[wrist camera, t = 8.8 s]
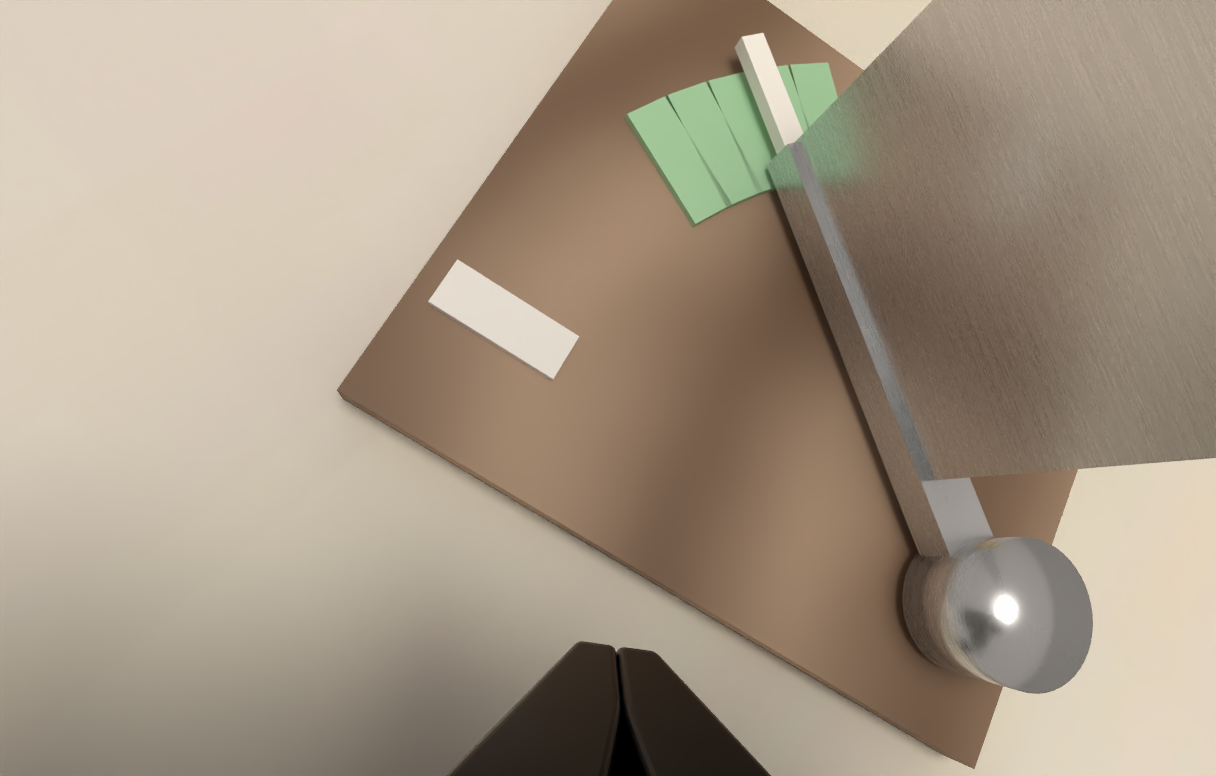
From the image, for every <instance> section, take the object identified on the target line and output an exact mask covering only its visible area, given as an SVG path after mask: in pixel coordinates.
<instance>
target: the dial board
mask: <svg viewBox="0 0 1216 776" xmlns="http://www.w3.org/2000/svg"><path fill="white" fill-rule="evenodd" d="M759 33H764V36H765V38H766V41H767V43H768V46H769V48H770V51H771V53H772V56H773V58H774V61H775V63H776V66H777V68H778V71H779V73H780V76H781V78H782V81H783V83H784V86H785V88H786V91H787V93H788V96H789V98H790V101H791V103H792V106H793V108H794V111H795V113H796V116H797V118H798V121H799V123H800V126H801V129H802V131H803V133H804V132H805V131H806V130H807V129H808V128H809V127H810V126H811V125H812V124H813V123H814V122H815V121H816V120H817V119H818V118H819V117H820V116H821V115H822V114H823V113H824V112H825V111H826V110H827V108H828V107H829V106H830V105H831V104H832V103H833V102H834V101H835V100H836V99H837V98H838V97H839V96H840V95H841V94H842V93H843V92H844V91H845V90H846V89H847V88H848V87H849V86H850V85H851V84H852V83H853V82H854V81H855V80H856V79H857V78H858V77H859V76H860V75H861V74H862V73H863V71H864V70H862V69H861V68H860V67H858V66H857V65H856V64H854V63H853V62H851V61H850V60H849V59H847V58H846V57H844V56H843V55H842V54H840V53H839V52H838V51H836V50H835V49H833V48H832V47H831V46H829V45H828V44H827V43H825V42H824V41H822V40H821V39H820V38H818V37H817V36H815V35H814V34H813V33H811V32H810V31H809V30H807V29H806V28H804V27H803V26H802V25H800V24H799V23H798V22H796V21H795V20H793V19H792V18H791V17H789V16H788V15H787V14H785V13H784V12H782V11H781V10H780V9H778V8H777V7H775V6H774V5H773V4H771V3H770V2H769V1H767V0H613V1H612V2H611V3H610V5H609V6H608V8H607V9H606V10H605V12H604V13H603V15H602V16H601V18H600V19H599V20H598V22H597V23H596V25H595V26H594V27H593V29H592V30H591V32H590V33H589V35H588V36H587V37H586V39H585V40H584V42H583V43H582V44H581V46H580V47H579V49H578V50H577V51H576V53H575V54H574V56H573V57H572V59H571V60H570V61H569V63H568V64H567V66H566V67H565V68H564V70H563V71H562V73H561V74H560V76H559V77H558V78H557V80H556V81H555V83H554V84H553V85H552V87H551V88H550V90H549V91H548V92H547V94H546V95H545V97H544V98H543V100H542V101H541V102H540V104H539V105H538V107H537V108H536V109H535V111H534V112H533V114H532V115H531V117H530V118H529V119H528V121H527V122H526V124H525V125H524V126H523V128H522V129H521V131H520V132H519V133H518V135H517V136H516V138H515V139H514V141H513V142H512V143H511V145H510V146H509V148H508V149H507V150H506V152H505V153H504V155H503V156H502V158H501V159H500V160H499V162H498V163H497V165H496V166H495V167H494V169H493V170H492V172H491V173H490V174H489V176H488V177H487V179H486V180H485V182H484V183H483V184H482V186H481V187H480V189H479V190H478V191H477V193H476V194H475V196H474V197H473V199H472V200H471V201H470V203H469V204H468V206H467V207H466V208H465V210H464V211H463V213H462V214H461V215H460V217H459V218H458V220H457V221H456V223H455V224H454V225H453V227H452V228H451V230H450V231H449V232H448V234H447V235H446V237H445V238H444V240H443V241H442V242H441V244H440V245H439V247H438V248H437V249H436V251H435V252H434V254H433V255H432V256H431V258H430V259H429V261H428V262H427V264H426V265H425V266H424V268H423V269H422V271H421V272H420V273H419V275H418V276H417V278H416V279H415V281H414V282H413V283H412V285H411V286H410V288H409V289H408V290H407V292H406V293H405V295H404V296H403V297H402V299H401V300H400V302H399V303H398V305H397V306H396V307H395V309H394V310H393V312H392V313H391V314H390V316H389V317H388V319H387V320H386V322H385V323H384V324H383V326H382V327H381V329H380V330H379V331H378V333H377V334H376V336H375V337H374V338H373V340H372V341H371V343H370V344H369V346H368V347H367V348H366V350H365V351H364V353H363V354H362V355H361V357H360V358H359V360H358V361H357V363H356V364H355V365H354V367H353V368H352V370H351V371H350V372H349V374H348V375H347V377H346V378H345V379H344V381H343V382H342V384H341V385H340V387H339V388H338V389H337V391H338V392H339V394H340V395H341V397H342V398H343V399H345V400H346V401H348V402H350V403H351V404H353V405H355V406H356V407H358V408H360V409H361V410H363V411H365V412H366V413H368V414H370V415H372V416H373V417H375V418H377V419H378V420H380V421H382V422H383V423H385V424H387V425H388V426H390V427H392V428H393V429H395V430H397V431H398V432H400V433H402V434H404V435H405V436H407V437H409V438H410V439H412V440H414V441H415V442H417V443H419V444H420V445H422V446H424V447H425V448H427V449H429V450H430V451H432V452H434V453H436V454H437V455H439V456H441V457H442V458H444V459H446V460H447V461H449V462H451V463H452V464H454V465H456V466H457V467H459V468H461V469H462V470H464V471H466V472H468V473H469V474H471V475H473V476H474V477H476V478H478V479H479V480H481V481H483V482H484V483H486V484H488V485H489V486H491V487H493V488H494V489H496V490H498V491H500V492H501V493H503V494H505V495H506V496H508V497H510V498H511V499H513V500H515V501H516V502H518V503H520V504H521V505H523V506H525V507H526V508H528V509H530V510H532V511H533V512H535V513H537V514H538V515H540V516H542V517H543V518H545V519H547V520H548V521H550V522H552V523H553V524H555V525H557V526H558V527H560V528H562V529H564V530H565V531H567V532H569V533H570V534H572V535H574V536H575V537H577V538H579V539H580V540H582V541H584V542H585V543H587V544H589V545H590V546H592V547H594V548H596V549H597V550H599V551H601V552H602V553H604V554H606V555H607V556H609V557H611V558H612V559H614V560H616V561H617V562H619V563H621V564H622V565H624V566H626V567H628V568H629V569H631V570H633V571H634V572H636V573H638V574H639V575H641V576H643V577H644V578H646V579H648V580H649V581H651V582H653V583H654V584H656V585H658V586H660V587H661V588H663V589H665V590H666V591H668V592H670V593H671V594H673V595H675V596H676V597H678V598H680V599H681V600H683V601H685V602H687V603H688V604H690V605H692V606H693V607H695V608H697V609H698V610H700V611H702V612H703V613H705V614H707V615H708V616H710V617H712V618H713V619H715V620H717V621H719V622H720V623H722V624H724V625H725V626H727V627H729V628H730V629H732V630H734V631H735V632H737V633H739V634H740V635H742V636H744V637H745V638H747V639H749V640H751V641H752V642H754V643H756V644H757V645H759V646H761V647H762V648H764V649H766V650H767V651H769V652H771V653H772V654H774V655H776V656H777V657H779V658H781V659H783V660H784V661H786V662H788V663H789V664H791V665H793V666H794V667H796V668H798V669H799V670H801V671H803V672H804V673H806V674H808V675H809V676H811V677H813V678H815V679H816V680H818V681H820V682H821V683H823V684H825V685H826V686H828V687H830V688H831V689H833V690H835V691H836V692H838V693H840V694H841V695H843V696H845V697H847V698H848V699H850V700H852V701H853V702H855V703H857V704H858V705H860V706H862V707H863V708H865V709H867V710H868V711H870V712H872V713H873V714H875V715H877V716H879V717H880V718H882V719H884V720H885V721H887V722H889V723H890V724H892V725H894V726H895V727H897V728H899V729H900V730H902V731H904V732H905V733H907V734H909V735H911V736H912V737H914V738H916V739H917V740H919V741H921V742H922V743H924V744H926V745H927V746H929V747H931V748H932V749H934V750H936V751H937V752H939V753H941V754H943V755H945V756H947V757H949V758H951V759H953V760H956V761H958V762H960V763H962V764H964V765H967V766H969V767H971V768H973V769H975V766H976V763H977V760H978V757H979V754H980V751H981V748H982V745H983V743H984V740H985V737H986V734H987V731H988V728H989V725H990V722H991V719H992V716H993V714H994V711H995V708H996V705H997V702H998V699H999V696H1000V693H1001V690H1002V687H1003V686H1001V685H997V684H994V683H990V682H987V681H983V680H980V679H976V678H973V677H969V676H966V675H963V674H959V673H956V672H952V671H949V670H946V669H944V668H941V667H939V666H938V665H936V664H934V663H933V662H932V661H930V660H929V659H928V658H927V657H926V656H925V655H924V654H923V653H922V652H921V651H920V649H919V648H918V647H917V646H916V644H915V642H914V641H913V639H912V637H911V635H910V633H909V631H908V628H907V625H906V622H905V618H904V613H903V605H902V592H903V584H904V580H905V576H906V573H907V570H908V568H909V566H910V564H911V562H912V560H913V559H914V557H915V556H916V555H917V553H918V550H917V547H916V545H915V542H914V540H913V537H912V535H911V532H910V530H909V527H908V524H907V522H906V519H905V517H904V514H903V512H902V509H901V507H900V504H899V502H898V499H897V496H896V494H895V491H894V489H893V486H892V484H891V481H890V479H889V476H888V473H887V471H886V468H885V466H884V463H883V461H882V458H881V456H880V453H879V451H878V448H877V445H876V443H875V440H874V438H873V435H872V433H871V430H870V428H869V425H868V422H867V420H866V417H865V415H864V412H863V410H862V407H861V405H860V402H859V400H858V397H857V394H856V392H855V389H854V387H853V384H852V382H851V379H850V377H849V374H848V371H847V369H846V366H845V364H844V361H843V359H842V356H841V354H840V351H839V349H838V346H837V343H836V341H835V338H834V336H833V333H832V331H831V328H830V326H829V323H828V321H827V318H826V315H825V313H824V310H823V308H822V305H821V303H820V300H819V298H818V295H817V292H816V290H815V287H814V285H813V282H812V280H811V277H810V275H809V272H808V270H807V267H806V264H805V262H804V259H803V257H802V254H801V252H800V249H799V247H798V244H797V241H796V239H795V236H794V234H793V231H792V229H791V226H790V224H789V221H788V219H787V216H786V213H785V211H784V208H783V206H782V203H781V201H780V198H779V196H778V193H777V190H776V188H775V185H774V183H773V180H772V178H771V175H770V173H769V170H768V168H767V165H768V164H769V163H770V161H771V160H772V159H773V158H774V157H775V156H776V155H777V154H776V151H775V149H774V146H773V143H772V141H771V138H770V136H769V133H768V131H767V128H766V126H765V123H764V121H763V118H762V116H761V113H760V111H759V108H758V105H757V103H756V100H755V98H754V95H753V93H752V90H751V88H750V85H749V83H748V80H747V78H746V75H745V72H744V70H743V67H742V65H741V62H740V60H739V57H738V55H737V52H736V50H735V46H736V45H737V43H738V42H739V40H740V39H741V37H743V36H748V35H754V34H759ZM1077 470H1078V469H1071V470H1058V471H1045V472H1033V473H1020V474H1008V475H995V476H983V477H970V480H971V482H972V485H973V487H974V490H975V492H976V495H977V497H978V499H979V502H980V504H981V507H982V509H983V512H984V514H985V517H986V519H987V522H988V524H989V527H990V529H991V532H992V534H993V536H995V537H1027V538H1034V539H1038V540H1042V541H1044V542H1046V543H1048V544H1050V545H1052V543H1053V540H1054V537H1055V534H1056V531H1057V528H1058V525H1059V522H1060V519H1061V516H1062V514H1063V511H1064V508H1065V505H1066V502H1067V499H1068V496H1069V493H1070V490H1071V487H1072V485H1073V482H1074V479H1075V476H1076V473H1077Z"/></svg>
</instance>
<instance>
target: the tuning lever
mask: <svg viewBox="0 0 1216 776" xmlns="http://www.w3.org/2000/svg"><path fill="white" fill-rule="evenodd" d="M735 50H736V52H737V55H738V57H739V60H740V62H741V65H742V67H743V70H744V72H745V75H746V78H747V80H748V83H749V85H750V88H751V90H752V93H753V95H754V98H755V100H756V103H757V105H758V108H759V111H760V113H761V116H762V118H763V121H764V123H765V126H766V128H767V131H768V133H769V136H770V138H771V141H772V143H773V146H774V149H775V151H776V154H777V155H776V156H775V157H774V158H773V159H772V160H771V161H770V163H769V164H768V165H767V168H768V170H769V173H770V175H771V178H772V180H773V183H774V185H775V188H776V190H777V193H778V196H779V198H780V201H781V203H782V206H783V208H784V211H785V213H786V216H787V219H788V221H789V224H790V226H791V229H792V231H793V234H794V236H795V239H796V241H797V244H798V247H799V249H800V252H801V254H802V257H803V259H804V262H805V264H806V267H807V270H808V272H809V275H810V277H811V280H812V282H813V285H814V287H815V290H816V292H817V295H818V298H819V300H820V303H821V305H822V308H823V310H824V313H825V315H826V318H827V321H828V323H829V326H830V328H831V331H832V333H833V336H834V338H835V341H836V343H837V346H838V349H839V351H840V354H841V356H842V359H843V361H844V364H845V366H846V369H847V371H848V374H849V377H850V379H851V382H852V384H853V387H854V389H855V392H856V394H857V397H858V400H859V402H860V405H861V407H862V410H863V412H864V415H865V417H866V420H867V422H868V425H869V428H870V430H871V433H872V435H873V438H874V440H875V443H876V445H877V448H878V451H879V453H880V456H881V458H882V461H883V463H884V466H885V468H886V471H887V473H888V476H889V479H890V481H891V484H892V486H893V489H894V491H895V494H896V496H897V499H898V502H899V504H900V507H901V509H902V512H903V514H904V517H905V519H906V522H907V524H908V527H909V530H910V532H911V535H912V537H913V540H914V542H915V545H916V547H917V550H918V553H917V555H916V556H915V557H914V559H913V560H912V562H911V564H910V566H909V568H908V570H907V573H906V576H905V580H904V584H903V592H902V605H903V613H904V618H905V622H906V625H907V628H908V631H909V633H910V635H911V637H912V639H913V641H914V642H915V644H916V646H917V647H918V648H919V649H920V651H921V652H922V653H923V654H924V655H925V656H926V657H927V658H928V659H929V660H930V661H932V662H933V663H934V664H936V665H938V666H939V667H941V668H944V669H946V670H949V671H952V672H956V673H959V674H963V675H966V676H969V677H973V678H976V679H980V680H983V681H987V682H990V683H994V684H997V685H1001V686H1004V687H1008V688H1011V689H1015V690H1018V691H1022V692H1026V693H1035V694H1039V693H1047V692H1050V691H1054V690H1056V689H1058V688H1060V687H1062V686H1063V685H1065V684H1066V683H1068V682H1069V681H1070V680H1071V679H1072V678H1073V677H1074V676H1075V675H1076V673H1077V672H1078V671H1079V670H1080V668H1081V666H1082V664H1083V663H1084V661H1085V658H1086V656H1087V654H1088V651H1089V647H1090V644H1091V638H1092V628H1093V619H1092V609H1091V603H1090V599H1089V595H1088V592H1087V589H1086V586H1085V584H1084V582H1083V580H1082V578H1081V576H1080V574H1079V572H1078V571H1077V569H1076V568H1075V566H1074V565H1073V564H1072V562H1071V561H1070V560H1069V559H1068V558H1067V557H1066V556H1065V555H1064V554H1063V553H1062V552H1061V551H1059V550H1058V549H1057V548H1055V547H1054V546H1052V545H1050V544H1048V543H1046V542H1044V541H1042V540H1038V539H1034V538H1027V537H995V536H993V534H992V532H991V529H990V527H989V524H988V522H987V519H986V517H985V514H984V512H983V509H982V507H981V504H980V502H979V499H978V497H977V495H976V492H975V490H974V487H973V485H972V482H971V480H970V477H983V476H995V475H1008V474H1020V473H1033V472H1045V471H1058V470H1071V469H1083V468H1096V467H1108V466H1121V465H1134V464H1146V463H1159V462H1171V461H1184V460H1196V459H1209V458H1216V0H933V1H932V2H931V3H930V4H929V5H928V6H927V7H926V8H925V9H924V10H923V11H922V12H921V13H920V14H919V15H918V16H917V17H916V18H915V19H914V20H913V21H912V22H911V23H910V24H909V25H908V26H907V27H906V28H905V29H904V30H903V31H902V32H901V33H900V34H899V35H898V37H897V38H896V39H895V40H894V41H893V42H892V43H891V44H890V45H889V46H888V47H887V48H886V49H885V50H884V51H883V52H882V53H881V54H880V55H879V56H878V57H877V58H876V59H875V60H874V61H873V62H872V63H871V64H870V65H869V66H868V67H867V68H866V69H865V70H864V71H863V73H862V74H861V75H860V76H859V77H858V78H857V79H856V80H855V81H854V82H853V83H852V84H851V85H850V86H849V87H848V88H847V89H846V90H845V91H844V92H843V93H842V94H841V95H840V96H839V97H838V98H837V99H836V100H835V101H834V102H833V103H832V104H831V105H830V106H829V107H828V108H827V110H826V111H825V112H824V113H823V114H822V115H821V116H820V117H819V118H818V119H817V120H816V121H815V122H814V123H813V124H812V125H811V126H810V127H809V128H808V129H807V130H806V131H805V132H804V133H803V131H802V129H801V126H800V123H799V121H798V118H797V116H796V113H795V111H794V108H793V106H792V103H791V101H790V98H789V96H788V93H787V91H786V88H785V86H784V83H783V81H782V78H781V76H780V73H779V71H778V68H777V66H776V63H775V61H774V58H773V56H772V53H771V51H770V48H769V46H768V43H767V41H766V38H765V36H764V33H759V34H754V35H748V36H743V37H741V39H740V40H739V42H738V43H737V45H736V46H735Z"/></svg>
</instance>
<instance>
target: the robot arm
mask: <svg viewBox="0 0 1216 776" xmlns="http://www.w3.org/2000/svg"><path fill="white" fill-rule="evenodd" d="M446 776H771V775H770V774H769V773H768V772H767V771H766V770H765V769H764V768H763V767H762V766H761V765H760V763H759V762H758V761H757V760H756V759H755V758H754V757H753V756H752V755H751V754H750V753H749V752H748V751H747V750H746V748H745V747H744V746H743V745H742V744H741V743H740V742H739V741H738V740H737V739H736V738H735V737H734V736H733V734H732V733H731V732H730V731H729V730H728V729H727V728H726V727H725V726H724V725H723V724H722V723H721V722H720V721H719V719H718V718H717V717H716V716H715V715H714V714H713V713H712V712H711V711H710V710H709V709H708V708H707V707H706V706H705V704H704V703H703V702H702V701H701V700H700V699H699V698H698V697H697V696H696V695H695V694H694V693H693V692H692V691H691V689H690V688H689V687H688V686H687V685H686V684H685V683H684V682H683V681H682V680H681V679H680V678H679V677H678V675H677V674H676V673H675V672H674V671H673V670H672V669H671V668H670V667H669V666H668V665H667V664H666V663H665V662H664V660H663V659H662V658H661V657H660V656H659V655H658V654H656V653H655V652H653V651H647V650H640V649H633V648H626V647H623V648H620V649H618V651H617V652H616V651H615V649H614V648H613V647H612V646H610V645H604V644H597V643H590V642H583V641H581V642H578V643H576V644H575V645H574V646H573V647H572V648H571V649H570V650H569V651H568V652H567V653H566V654H565V655H564V656H563V657H562V658H561V659H560V660H559V661H558V662H557V663H556V664H555V665H554V666H553V667H552V668H551V669H550V670H549V671H548V672H547V673H546V674H545V675H544V676H543V677H542V678H541V679H540V680H539V681H538V683H537V684H536V685H535V686H534V687H533V688H532V689H531V690H530V691H529V692H528V693H527V694H526V695H525V696H524V697H523V698H522V699H521V700H520V701H519V702H518V703H517V704H516V705H515V706H514V707H513V708H512V709H511V710H510V711H509V712H508V713H507V714H506V715H505V716H504V717H503V718H502V719H501V720H500V721H499V722H498V723H497V724H496V725H495V726H494V727H493V728H492V729H491V730H490V731H489V733H488V734H487V735H486V736H485V737H484V738H483V739H482V740H481V741H480V742H479V743H478V744H477V745H476V746H475V747H474V748H473V749H472V750H471V751H470V752H469V753H468V754H467V755H466V756H465V757H464V758H463V759H462V760H461V761H460V762H459V763H458V764H457V765H456V766H455V767H454V768H453V769H452V770H451V771H450V772H449V773H448V774H447V775H446Z"/></svg>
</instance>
